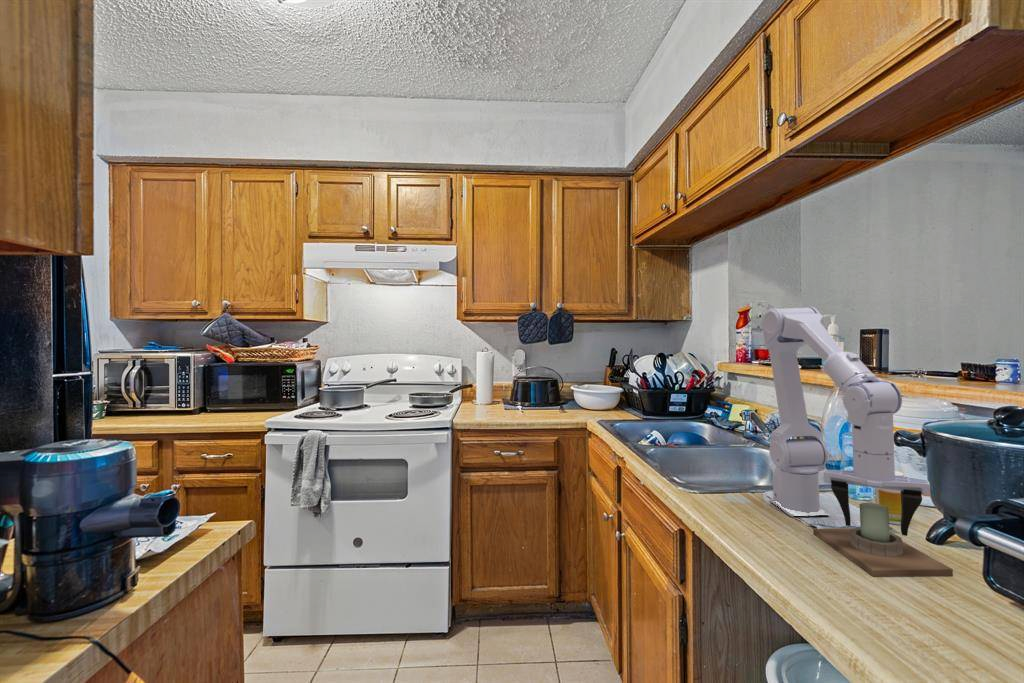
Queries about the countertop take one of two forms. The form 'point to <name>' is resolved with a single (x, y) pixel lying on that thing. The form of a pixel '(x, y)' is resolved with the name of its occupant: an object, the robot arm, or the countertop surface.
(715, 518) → the countertop surface
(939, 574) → the holder
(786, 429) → the robot arm
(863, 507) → the peg
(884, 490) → the supplement bottle
